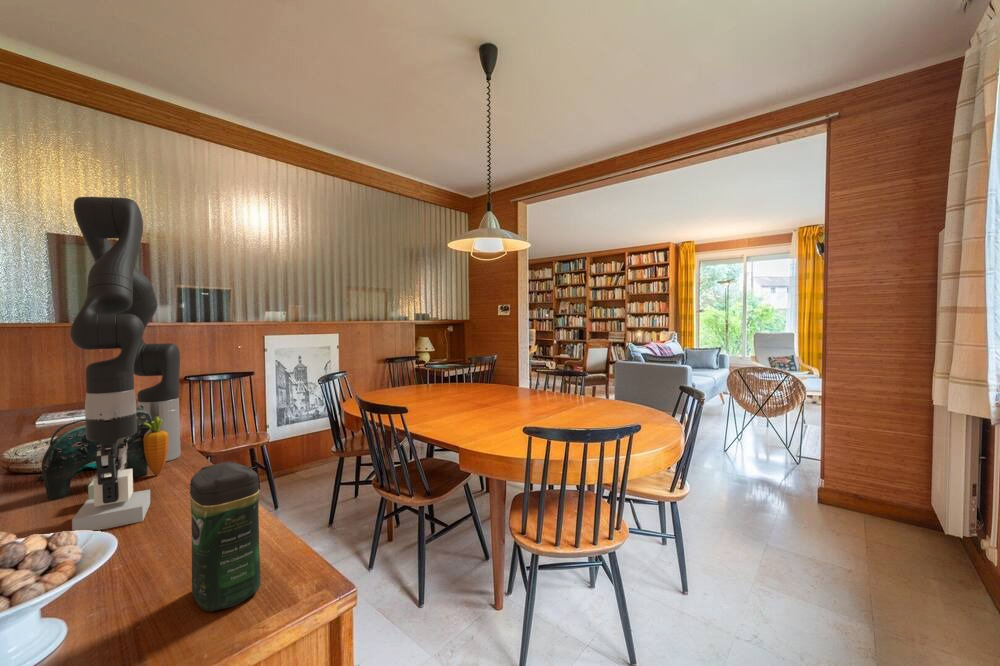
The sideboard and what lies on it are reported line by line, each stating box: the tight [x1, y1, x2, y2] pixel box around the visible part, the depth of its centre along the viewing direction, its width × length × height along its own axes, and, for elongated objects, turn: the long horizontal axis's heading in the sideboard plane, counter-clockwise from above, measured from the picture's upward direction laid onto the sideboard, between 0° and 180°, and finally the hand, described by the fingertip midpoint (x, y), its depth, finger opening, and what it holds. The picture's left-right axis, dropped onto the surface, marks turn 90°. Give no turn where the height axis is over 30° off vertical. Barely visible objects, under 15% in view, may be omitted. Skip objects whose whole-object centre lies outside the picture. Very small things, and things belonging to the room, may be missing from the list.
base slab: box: [71, 489, 151, 531], centre depth 84 cm, size 10×10×3 cm
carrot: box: [143, 417, 168, 476], centre depth 107 cm, size 5×5×15 cm
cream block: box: [93, 469, 134, 507], centre depth 84 cm, size 5×5×5 cm
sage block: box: [87, 477, 97, 500], centre depth 92 cm, size 5×5×5 cm
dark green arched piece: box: [41, 405, 152, 501], centre depth 101 cm, size 20×6×20 cm, turn 152°
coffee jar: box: [189, 461, 261, 612], centre depth 61 cm, size 10×8×19 cm
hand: (114, 496), depth 84 cm, fingers closed on cream block, 5 cm apart
